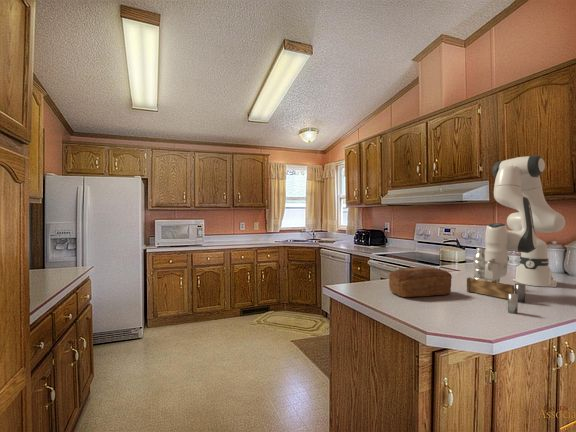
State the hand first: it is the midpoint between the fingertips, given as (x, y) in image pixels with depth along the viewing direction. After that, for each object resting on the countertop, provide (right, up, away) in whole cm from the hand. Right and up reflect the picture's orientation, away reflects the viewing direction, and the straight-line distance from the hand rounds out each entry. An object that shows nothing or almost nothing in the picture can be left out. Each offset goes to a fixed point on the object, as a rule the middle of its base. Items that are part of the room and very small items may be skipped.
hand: (495, 287), depth 143 cm
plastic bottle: (+3, -3, +16) cm, 16 cm away
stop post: (-11, -3, -26) cm, 28 cm away
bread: (-35, -4, +1) cm, 35 cm away
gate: (-4, -3, -2) cm, 6 cm away
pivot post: (+3, -3, -12) cm, 12 cm away
